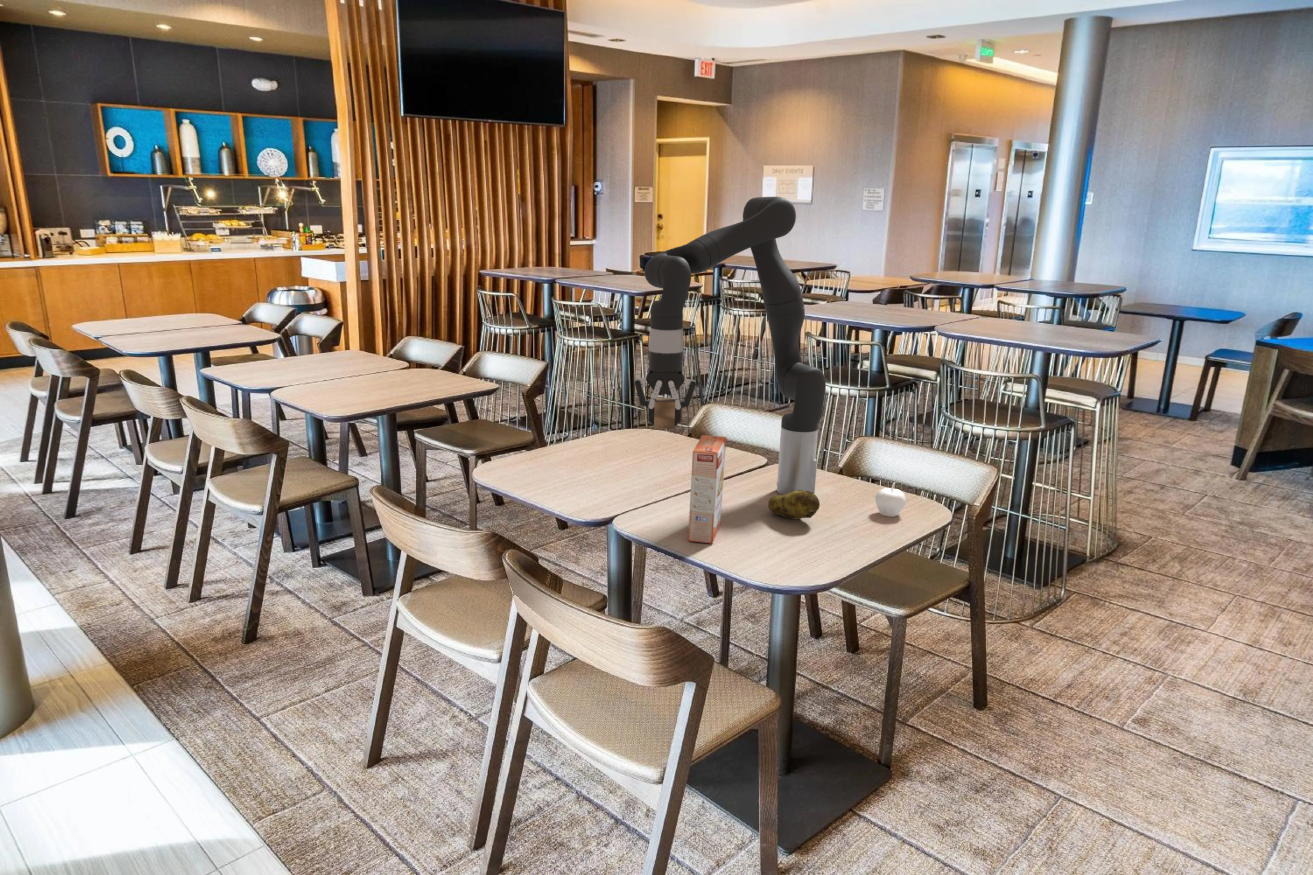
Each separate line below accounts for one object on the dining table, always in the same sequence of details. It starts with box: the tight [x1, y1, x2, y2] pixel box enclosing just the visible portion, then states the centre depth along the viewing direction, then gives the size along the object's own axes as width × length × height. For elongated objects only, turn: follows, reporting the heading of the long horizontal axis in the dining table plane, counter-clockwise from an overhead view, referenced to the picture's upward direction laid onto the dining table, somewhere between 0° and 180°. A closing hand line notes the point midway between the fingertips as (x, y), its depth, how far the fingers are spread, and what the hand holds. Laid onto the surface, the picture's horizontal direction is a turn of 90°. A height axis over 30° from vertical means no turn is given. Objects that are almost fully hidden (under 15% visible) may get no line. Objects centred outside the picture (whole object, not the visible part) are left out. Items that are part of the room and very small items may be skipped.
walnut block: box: [653, 397, 676, 430], centre depth 193 cm, size 4×4×6 cm
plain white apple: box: [875, 481, 907, 518], centre depth 209 cm, size 7×7×8 cm
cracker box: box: [687, 434, 727, 545], centre depth 192 cm, size 14×6×21 cm, turn 168°
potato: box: [767, 490, 820, 520], centre depth 203 cm, size 8×13×8 cm, turn 25°
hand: (664, 424), depth 194 cm, fingers closed on walnut block, 4 cm apart
